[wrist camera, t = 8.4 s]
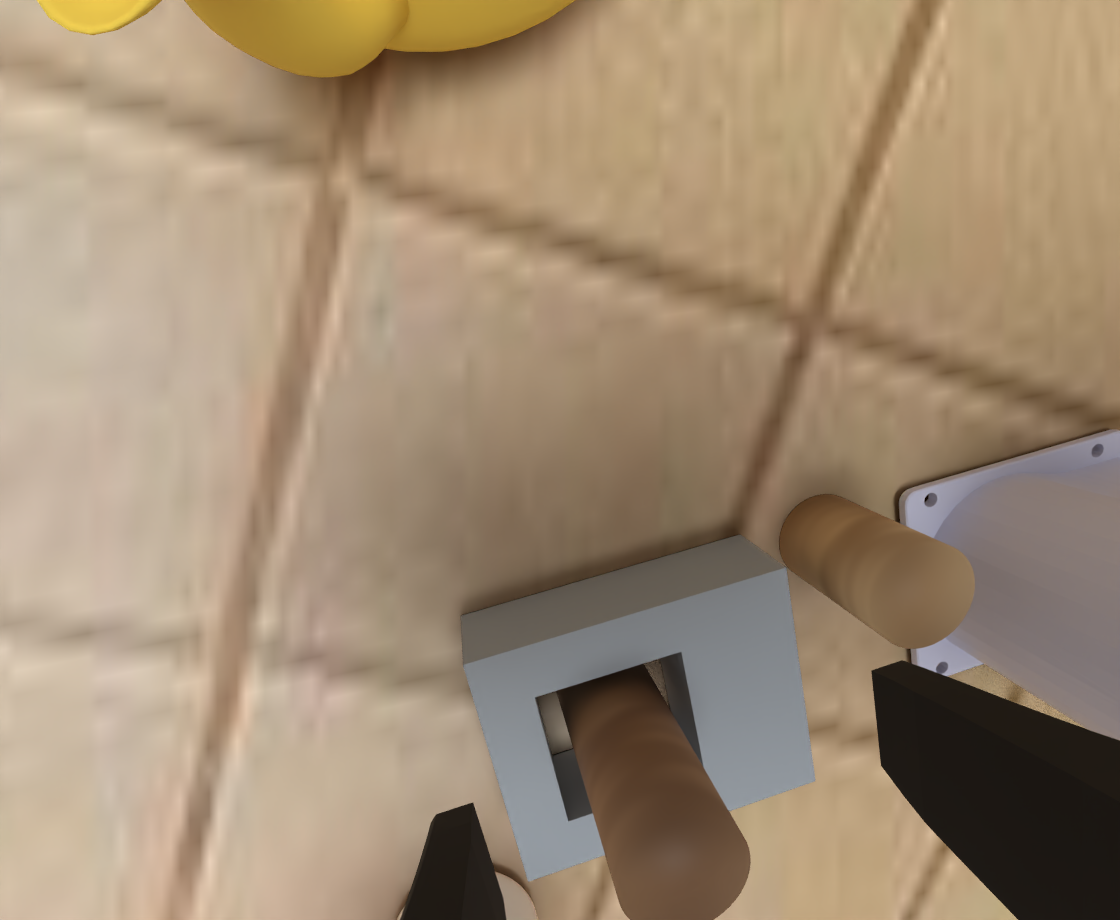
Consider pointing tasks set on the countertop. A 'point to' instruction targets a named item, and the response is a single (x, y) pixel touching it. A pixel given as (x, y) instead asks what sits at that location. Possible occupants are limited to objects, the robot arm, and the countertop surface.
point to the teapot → (327, 26)
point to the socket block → (629, 640)
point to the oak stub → (879, 570)
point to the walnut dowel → (653, 802)
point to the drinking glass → (513, 900)
